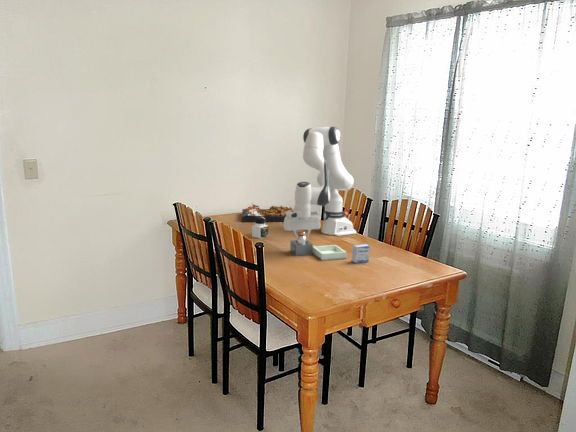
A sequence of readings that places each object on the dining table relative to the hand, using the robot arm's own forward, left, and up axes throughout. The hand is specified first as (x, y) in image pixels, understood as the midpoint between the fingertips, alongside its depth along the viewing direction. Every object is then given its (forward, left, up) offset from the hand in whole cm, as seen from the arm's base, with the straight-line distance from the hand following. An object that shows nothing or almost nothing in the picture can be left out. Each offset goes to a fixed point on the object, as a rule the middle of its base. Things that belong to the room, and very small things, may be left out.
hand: (301, 237), depth 258 cm
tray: (-13, +8, -9) cm, 18 cm away
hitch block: (0, 0, -9) cm, 9 cm away
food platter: (-10, -82, -10) cm, 83 cm away
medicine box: (-25, +21, -9) cm, 34 cm away
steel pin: (0, 0, -9) cm, 9 cm away
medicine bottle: (+13, -37, -9) cm, 40 cm away
